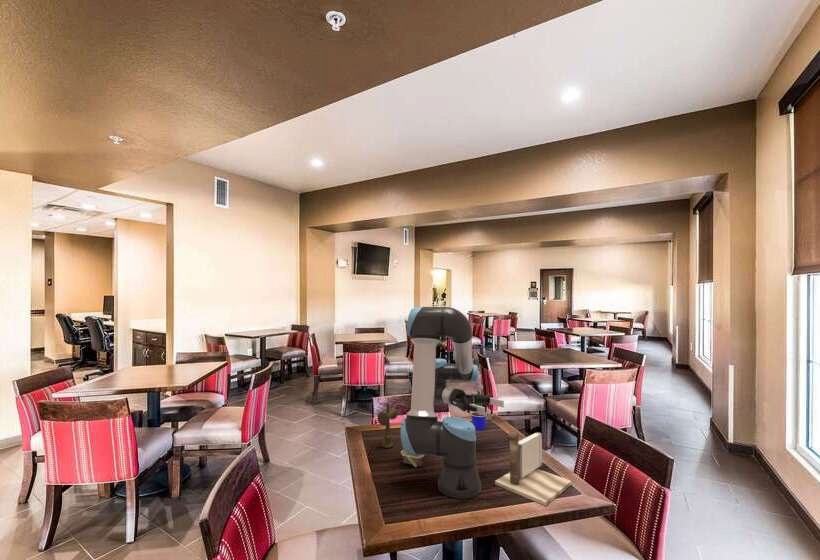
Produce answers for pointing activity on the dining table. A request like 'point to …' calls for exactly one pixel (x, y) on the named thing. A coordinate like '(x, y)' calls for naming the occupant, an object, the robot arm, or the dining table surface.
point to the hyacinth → (477, 418)
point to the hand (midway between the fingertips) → (494, 407)
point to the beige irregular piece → (411, 458)
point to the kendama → (387, 424)
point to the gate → (530, 454)
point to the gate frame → (531, 479)
